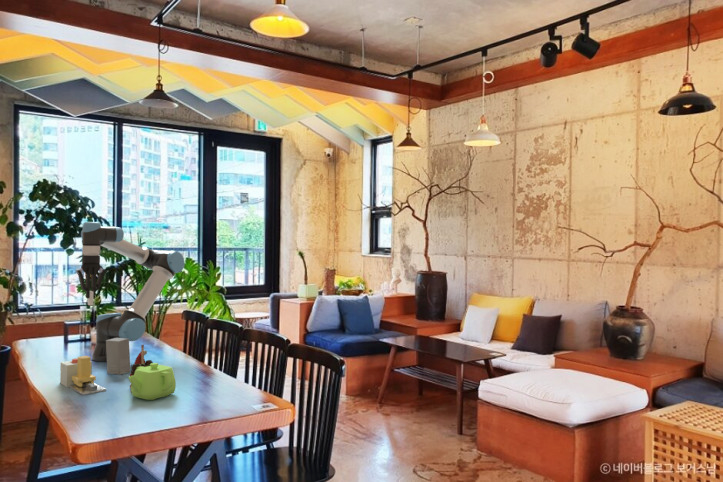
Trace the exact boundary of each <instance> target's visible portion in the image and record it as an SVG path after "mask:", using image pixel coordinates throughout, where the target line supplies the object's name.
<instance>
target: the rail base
mask: <svg viewBox="0 0 723 482" xmlns="http://www.w3.org/2000/svg"><path fill="white" fill-rule="evenodd" d="M68 388H69V389H71V390H73V391H75V392H77V393H78V394H81V395H82V396H84V395H90V393H91V394H95V393H100V392H106V391H107V388H105V387H103V386H101V385H99V384H97V383H95V382H94V384H92V383H90V382H83V383H82V387H79V386H77V385H76V384H75V385H69V387H68Z"/></svg>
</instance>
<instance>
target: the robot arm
mask: <svg viewBox="0 0 723 482" xmlns="http://www.w3.org/2000/svg"><path fill="white" fill-rule="evenodd" d="M124 235H125V234H124V230H123V229H122V227H118V226H101V222H99V221H85V222H83V224H82V230H81V231H80V236H81V239H82V245H81V246H82V250H81V251H82V252H81V253H82V257H81V263H82V264H81V266H80V268H79V269H76V270H75V273H76V274H77V275H78V276H77V277H78V280H79V284H80V288H81V290H82V291H85V298H86V299H87V305H88V306H94V299H95V298H96V291H98V290H100V289H101V286H102V281H103V278H104V274H105V273H106V268H105V269H104V268H102V267H101V256H100V254H101V247H103V248H105V249H108V250H110V251H112V252H114V253H118V254H119V255H122V256H124V257H127V258H129V259H131V260H134V261H135V262H136V264H138V265H141V266H143V267H144V268H147V269H150V270H152V272H151V275H150V276H149V278H148V279H147V280H146V282H145V284H144V286H143V287H142V288H141V290H140V292H139V293H138V294H137V296H136V298H135V300H134V301H133V302H132V303H131V306H130V307H129V308H127V309H124V311H123V312H122V313H121V312H113V313H104V314H99V315H97V316H96V322H95V323H96V324H95V326H96V329H95V330H96V331H95V332H96V336H95V337H96V338H95V339H96V340H95V347H94V350H93V351H92V355H91V361H94V362H107V353H106V340H109V339H113V338H126V339H129V342H136V341H138V340H140V339H141V338H142V337H143V335H144V333H145V331H146V322H147V321H146V317H147V314H148V312H149V311H150V309H151V308H152V306H153V305H154V303H155V302H156V300H157V298H158V296H159V295H160V293H161V292H162V290H163V289H164V287H165V285H166V284H167V282H168V280H171V279H173V278H174V276H175V275H176V274H177V273H181V272H183V270H184V268H185V263H186V261H185V258H184V256H183V254H182V253H181V252H180V251H178V250H171V249H170V250H161V249H160V250H159V249H152V248H151V249H150V248H148V247H145V246H143V247H141V246H139V245H137V244H134V243H133V242H131V241H128V240H126V239H124V238H125V237H124ZM83 273H84V274H83ZM97 274H98V276H97ZM84 275H85V276H84ZM84 277H85V279H84Z"/></svg>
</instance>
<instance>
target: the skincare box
mask: <svg viewBox="0 0 723 482" xmlns="http://www.w3.org/2000/svg"><path fill="white" fill-rule="evenodd" d="M106 353H107V361H106V369H107V371H106V372H107V373H106V374H110V375H118V376H119V375H120V376H121V375H124V374H128V373H131V355H130V341H129V339H126V338H113V339H109V340H106Z"/></svg>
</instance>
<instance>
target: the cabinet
mask: <svg viewBox="0 0 723 482" xmlns="http://www.w3.org/2000/svg"><path fill="white" fill-rule="evenodd" d="M77 369H78V363H74V364H72V360H68V361H67V360H66V361H62V362H60V375H59V376H60V379H59V380H60V382H59V383H60V384H61V385H63V386H64V387H66V388H69V385H75V384H74V381H73V380H72V376H76V375H77ZM90 374H92V375H93V361H91V367H90Z"/></svg>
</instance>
